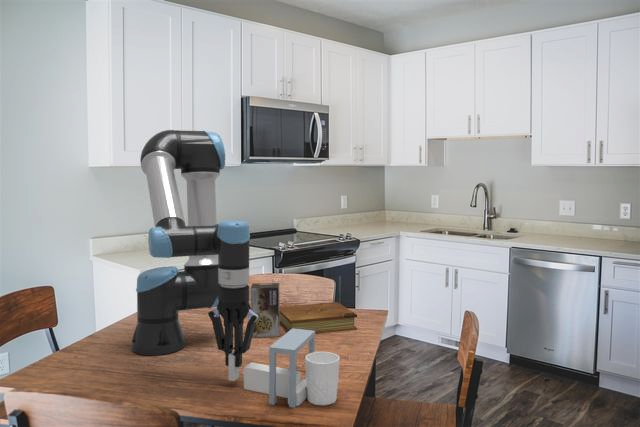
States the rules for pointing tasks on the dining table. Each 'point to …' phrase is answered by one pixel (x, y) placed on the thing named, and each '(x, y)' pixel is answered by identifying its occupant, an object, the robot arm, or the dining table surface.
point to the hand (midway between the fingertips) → (233, 378)
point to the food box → (266, 309)
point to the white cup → (322, 377)
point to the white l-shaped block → (259, 381)
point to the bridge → (289, 346)
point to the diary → (317, 317)
